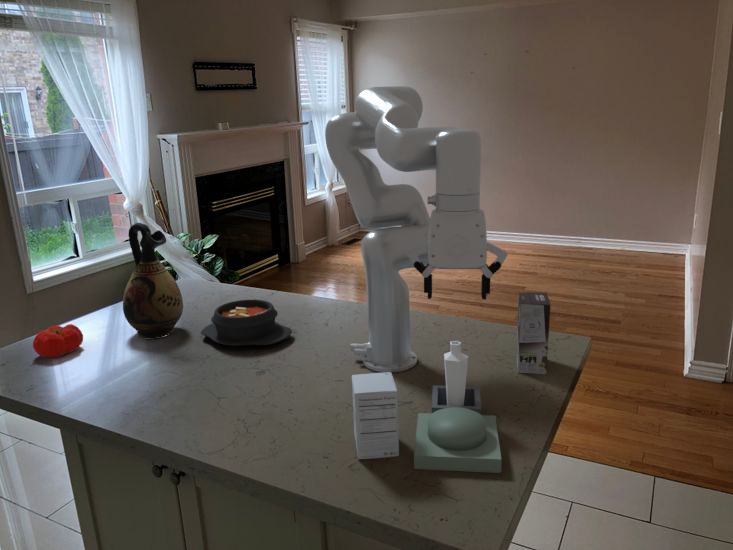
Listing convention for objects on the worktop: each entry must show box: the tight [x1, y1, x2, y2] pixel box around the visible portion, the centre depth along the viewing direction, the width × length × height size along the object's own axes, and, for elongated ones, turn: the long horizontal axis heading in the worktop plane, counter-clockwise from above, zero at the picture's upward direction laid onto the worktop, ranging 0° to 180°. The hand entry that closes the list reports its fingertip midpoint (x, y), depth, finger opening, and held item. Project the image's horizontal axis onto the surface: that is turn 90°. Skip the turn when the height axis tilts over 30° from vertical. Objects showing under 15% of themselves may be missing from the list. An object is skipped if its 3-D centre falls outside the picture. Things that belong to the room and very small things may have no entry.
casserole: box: [200, 299, 293, 347], centre depth 156 cm, size 25×19×8 cm
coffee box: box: [515, 291, 552, 375], centre depth 133 cm, size 9×6×16 cm
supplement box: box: [351, 372, 400, 460], centre depth 103 cm, size 7×7×13 cm
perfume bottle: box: [443, 340, 469, 406], centre depth 113 cm, size 5×4×15 cm
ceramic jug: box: [122, 222, 184, 339], centre depth 160 cm, size 17×16×30 cm
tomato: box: [32, 323, 84, 359], centre depth 151 cm, size 10×11×6 cm
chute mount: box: [413, 384, 502, 474], centre depth 107 cm, size 14×22×5 cm, turn 172°
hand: (456, 296), depth 108 cm, fingers open, 9 cm apart
